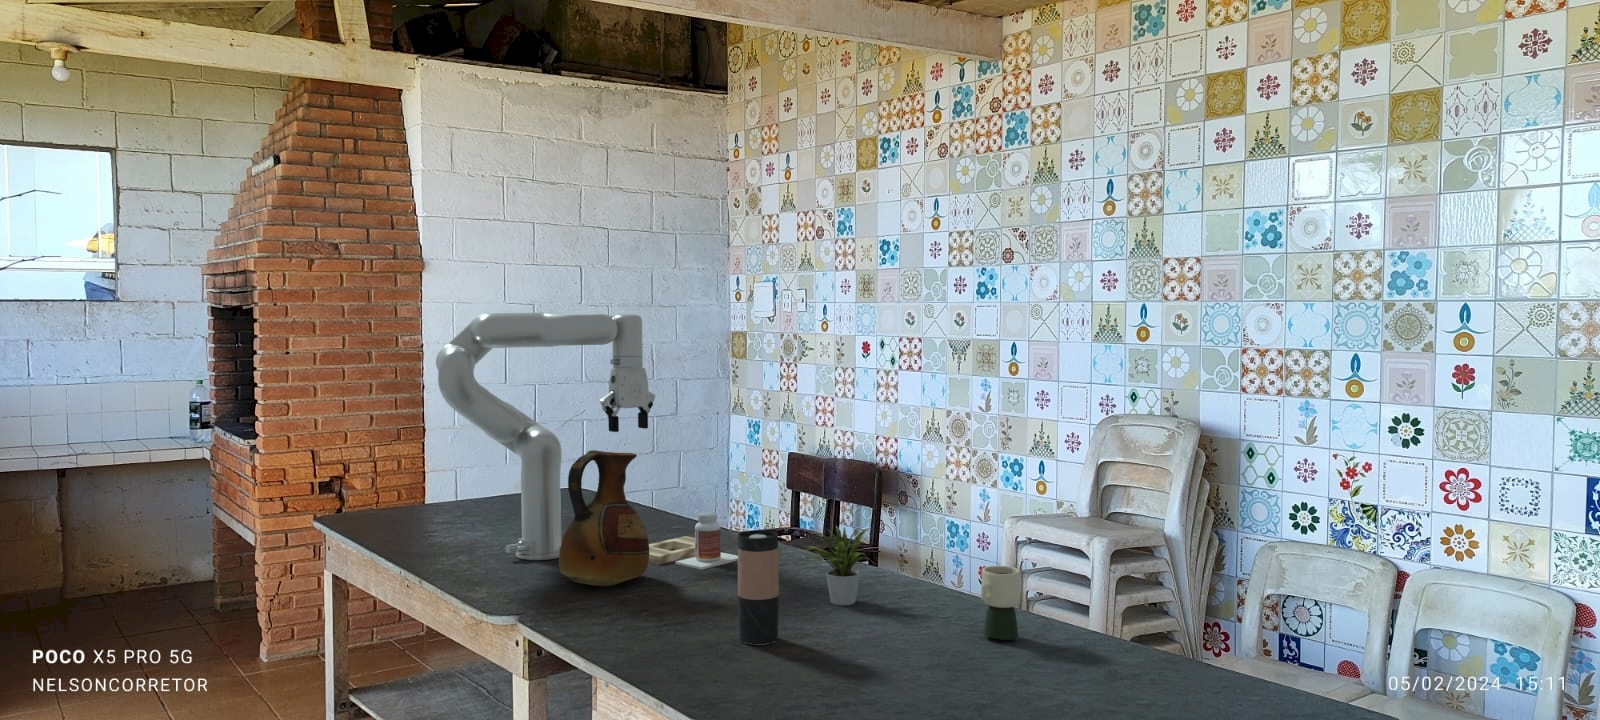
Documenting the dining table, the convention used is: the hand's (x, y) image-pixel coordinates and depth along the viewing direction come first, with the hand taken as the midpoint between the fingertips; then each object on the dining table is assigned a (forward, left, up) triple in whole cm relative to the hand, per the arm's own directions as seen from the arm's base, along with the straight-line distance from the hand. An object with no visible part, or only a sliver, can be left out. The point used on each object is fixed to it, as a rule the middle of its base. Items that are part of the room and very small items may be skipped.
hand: (628, 429), depth 288 cm
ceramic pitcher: (-27, -23, -31) cm, 47 cm away
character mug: (-6, -113, -31) cm, 117 cm away
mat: (+2, -27, -30) cm, 41 cm away
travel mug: (-36, -79, -31) cm, 92 cm away
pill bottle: (+2, -27, -30) cm, 40 cm away
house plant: (-4, -74, -31) cm, 80 cm away
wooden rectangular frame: (+2, -14, -30) cm, 33 cm away
